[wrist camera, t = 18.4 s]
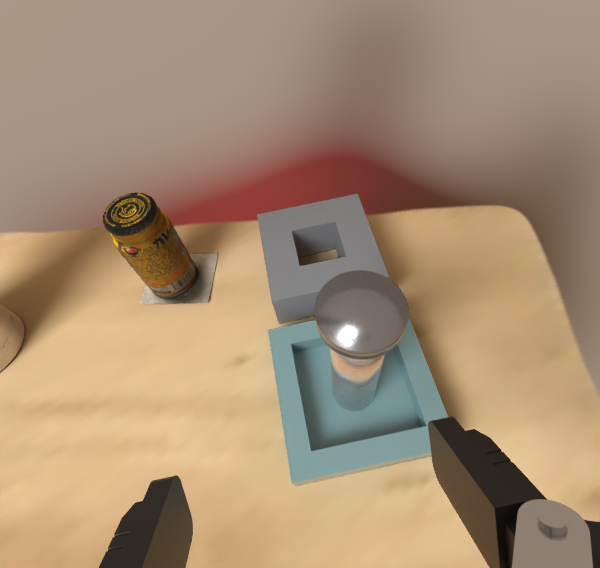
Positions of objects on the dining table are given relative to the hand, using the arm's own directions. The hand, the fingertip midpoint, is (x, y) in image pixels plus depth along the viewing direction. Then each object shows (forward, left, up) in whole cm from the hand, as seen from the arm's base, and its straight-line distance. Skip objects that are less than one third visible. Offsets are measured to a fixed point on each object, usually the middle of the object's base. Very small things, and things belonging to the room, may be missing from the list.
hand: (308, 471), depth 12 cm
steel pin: (+4, +9, -23) cm, 25 cm away
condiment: (-13, +27, -25) cm, 39 cm away
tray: (+4, +9, -24) cm, 26 cm away
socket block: (+4, +24, -24) cm, 34 cm away
